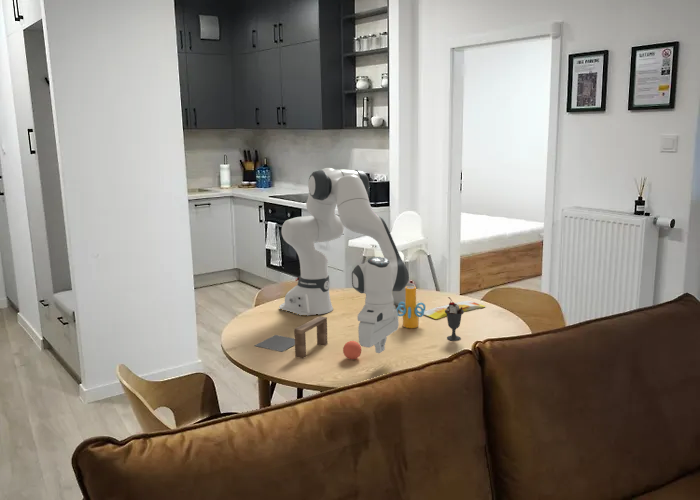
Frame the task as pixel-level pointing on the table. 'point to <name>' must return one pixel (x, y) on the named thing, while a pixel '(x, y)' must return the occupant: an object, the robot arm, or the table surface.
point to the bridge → (301, 337)
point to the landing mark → (277, 343)
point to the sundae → (453, 319)
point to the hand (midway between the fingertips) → (380, 351)
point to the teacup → (400, 295)
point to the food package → (440, 311)
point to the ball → (352, 350)
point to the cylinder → (410, 308)
